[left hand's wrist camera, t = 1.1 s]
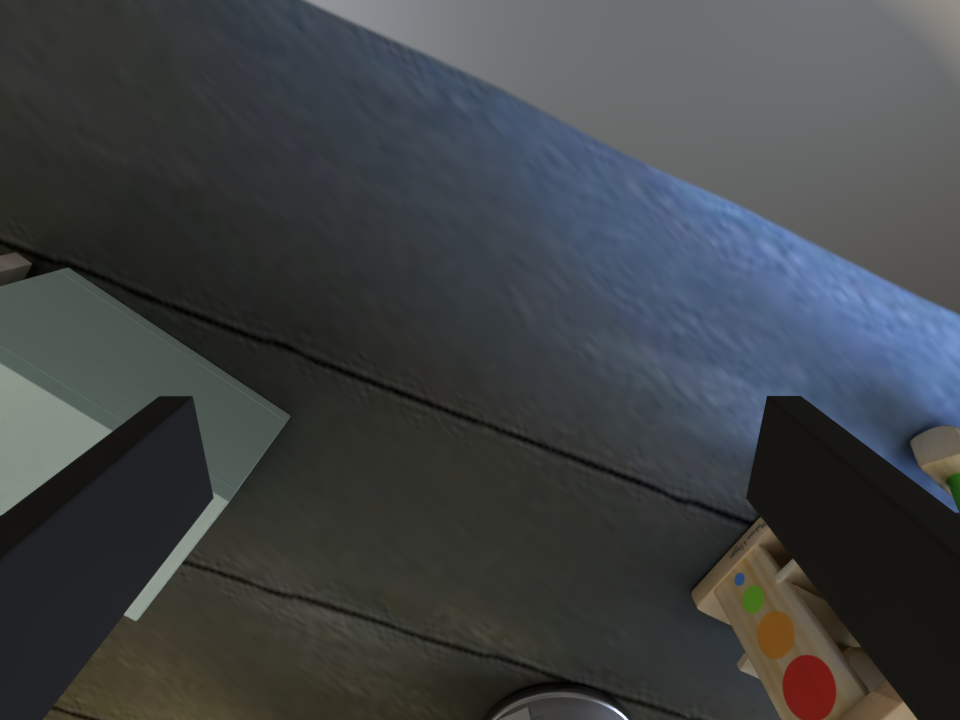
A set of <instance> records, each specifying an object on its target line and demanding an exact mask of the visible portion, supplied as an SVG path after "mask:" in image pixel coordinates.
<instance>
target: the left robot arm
mask: <svg viewBox="0 0 960 720" xmlns="http://www.w3.org/2000/svg"><path fill="white" fill-rule="evenodd" d="M213 498H214V496H213V491H212V487H211V482H210V477H209V472H208V467H207V462H206V458H205V453H204V448H203V443H202V438H201V433H200V428H199V424H198V419H197V414H196V409H195V404H194V399H193V396H159V397H157V398H156V399H155V400H153V401H152V402H151V403H149V404H148V405H147V406H146V407H144V408H143V409H142V410H140V411H139V412H138V413H136V414H135V415H134V416H132V417H131V418H130V419H128V420H127V421H126V422H124V423H123V424H122V425H120V426H119V427H118V428H116V429H115V430H114V431H112V432H111V433H110V434H108V435H107V436H106V437H104V438H103V439H102V440H101V441H99V442H98V443H97V444H95V445H94V446H93V447H91V448H90V449H89V450H87V451H86V452H85V453H83V454H82V455H81V456H79V457H78V458H77V459H75V460H74V461H73V462H71V463H70V464H69V465H67V466H66V467H65V468H63V469H62V470H61V471H60V472H58V473H57V474H56V475H54V476H53V477H52V478H50V479H49V480H48V481H46V482H45V483H44V484H42V485H41V486H40V487H38V488H37V489H36V490H34V491H33V492H32V493H30V494H29V495H28V496H26V497H25V498H24V499H22V500H21V501H20V502H18V503H17V504H16V505H15V506H13V507H12V508H11V509H9V510H8V511H7V512H5V513H4V514H3V515H0V720H43V718H44V717H45V716H46V714H47V713H48V712H49V711H50V709H51V708H52V707H53V705H54V704H55V703H56V701H57V700H58V699H59V698H60V696H61V695H62V694H63V692H64V691H65V690H66V689H67V687H68V686H69V685H70V683H71V682H72V681H73V679H74V678H75V677H76V676H77V674H78V673H79V672H80V670H81V669H82V668H83V667H84V665H85V664H86V663H87V661H88V660H89V659H90V657H91V656H92V655H93V654H94V652H95V651H96V650H97V648H98V647H99V646H100V645H101V643H102V642H103V641H104V639H105V638H106V637H107V635H108V634H109V633H110V632H111V630H112V629H113V628H114V626H115V625H116V624H117V623H118V621H119V620H120V619H121V617H122V616H123V615H124V614H125V612H126V611H127V610H128V608H129V607H130V606H131V604H132V603H133V602H134V601H135V599H136V598H137V597H138V595H139V594H140V593H141V592H142V590H143V589H144V588H145V586H146V585H147V584H148V582H149V581H150V580H151V579H152V577H153V576H154V575H155V573H156V572H157V571H158V570H159V568H160V567H161V566H162V564H163V563H164V562H165V560H166V559H167V558H168V557H169V555H170V554H171V553H172V551H173V550H174V549H175V548H176V546H177V545H178V544H179V542H180V541H181V540H182V538H183V537H184V536H185V535H186V533H187V532H188V531H189V529H190V528H191V527H192V526H193V524H194V523H195V522H196V520H197V519H198V518H199V517H200V515H201V514H202V513H203V511H204V510H205V509H206V507H207V506H208V505H209V504H210V502H211V501H212V500H213ZM746 498H747V500H748V501H749V502H750V504H751V505H752V506H753V507H754V509H755V510H756V511H757V513H758V514H759V515H760V517H761V518H762V519H763V520H764V522H765V523H766V524H767V526H768V527H769V528H770V529H771V531H772V532H773V533H774V535H775V536H776V537H777V538H778V540H779V541H780V542H781V544H782V545H783V546H784V548H785V549H786V550H787V551H788V553H789V554H790V555H791V557H792V558H793V559H794V560H795V562H796V563H797V564H798V566H799V567H800V568H801V570H802V571H803V572H804V573H805V575H806V576H807V577H808V579H809V580H810V581H811V582H812V584H813V585H814V586H815V588H816V589H817V590H818V592H819V593H820V594H821V595H822V597H823V598H824V599H825V601H826V602H827V603H828V604H829V606H830V607H831V608H832V610H833V611H834V612H835V614H836V615H837V616H838V617H839V619H840V620H841V621H842V623H843V624H844V625H845V626H846V628H847V629H848V630H849V632H850V633H851V634H852V635H853V637H854V638H855V639H856V641H857V642H858V643H859V645H860V646H861V647H862V648H863V650H864V651H865V652H866V654H867V655H868V656H869V657H870V659H871V660H872V661H873V663H874V664H875V665H876V667H877V668H878V669H879V670H880V672H881V673H882V674H883V676H884V677H885V678H886V679H887V681H888V682H889V683H890V685H891V686H892V687H893V689H894V690H895V691H896V692H897V694H898V695H899V696H900V698H901V699H902V700H903V701H904V703H905V704H906V705H907V707H908V708H909V709H910V711H911V712H912V713H913V714H914V716H915V717H916V718H917V720H960V513H955V512H953V511H952V510H951V509H949V508H948V507H947V506H945V505H944V504H943V503H942V502H940V501H939V500H938V499H936V498H935V497H934V496H932V495H931V494H930V493H928V492H927V491H926V490H924V489H923V488H922V487H920V486H919V485H918V484H916V483H915V482H914V481H912V480H911V479H910V478H908V477H907V476H906V475H904V474H903V473H902V472H900V471H899V470H898V469H897V468H895V467H894V466H893V465H891V464H890V463H889V462H887V461H886V460H885V459H883V458H882V457H881V456H879V455H878V454H877V453H875V452H874V451H873V450H871V449H870V448H869V447H867V446H866V445H865V444H863V443H862V442H861V441H859V440H858V439H857V438H856V437H854V436H853V435H852V434H850V433H849V432H848V431H846V430H845V429H844V428H842V427H841V426H840V425H838V424H837V423H836V422H834V421H833V420H832V419H830V418H829V417H828V416H826V415H825V414H824V413H822V412H821V411H820V410H818V409H817V408H816V407H814V406H813V405H812V404H811V403H809V402H808V401H807V400H805V399H804V398H803V397H801V396H767V399H766V404H765V409H764V414H763V419H762V424H761V428H760V433H759V438H758V443H757V448H756V453H755V458H754V462H753V467H752V472H751V477H750V482H749V487H748V491H747V496H746ZM484 720H632V719H631V717H630V716H629V714H628V712H627V711H626V710H625V709H624V707H623V706H622V705H620V704H619V703H618V702H617V701H616V700H614V699H613V698H611V697H610V696H608V695H606V694H604V693H602V692H600V691H597V690H595V689H591V688H588V687H584V686H579V685H571V684H550V685H542V686H537V687H532V688H529V689H525V690H522V691H520V692H517V693H515V694H513V695H511V696H509V697H507V698H506V699H504V700H503V701H501V702H500V703H498V704H497V705H496V706H495V707H494V708H493V709H492V710H491V711H490V712H489V713H488V714H487V716H486V717H485V719H484Z"/></svg>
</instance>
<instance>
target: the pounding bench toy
mask: <svg viewBox="0 0 960 720" xmlns="http://www.w3.org/2000/svg"><path fill="white" fill-rule="evenodd" d="M910 444H911V447H912V450H913V453H914V456H915V458H916V461H917V464H918V466H919V467H920V469H921V470H922V471H923V472H925V473H926V474H927V475H928V476H929V477H930V478H931V479H932V480H934V481H935V482H936V483H937V484H938V485H939V486H940V487H941V488H943V489H944V490H945V491H946V492H947V493H948V494H949V495H950V496H951V497H953V498H954V500H955V503H956V505H957V508H958V510H959V512H960V430H959V429H958V428H957V427H956V426H951V425H946V426H939V427H935V428H932V429H929V430H927V431H924V432H922V433H921V434H919V435H917V436H916V437H914V438H913V439H912V440H911V441H910ZM691 595H692V598H693V600H694V602H695V604H696V606H697V608H698V609H699V610H700V611H702V612H703V613H706V614H708V615H710V616H712V617H714V618H716V619H718V620H720V621H722V622H725V623H727V624H729V625H731V626H732V628H733V630H734V631H735V633H736V635H737V637H738V639H739V641H740V643H741V645H742V647H743V648H744V650H745V653H744V654H743V656H742V657H741V659H740V660H739V662H738V663H737V666H738V668H739V669H740V670H741V671H743V672H745V673H747V674H750V675H752V676H754V677H756V678H759V679H760V680H761V682H762V684H763V686H764V688H765V690H766V691H767V693H768V695H769V697H770V699H771V701H772V703H773V705H774V707H775V708H776V710H777V712H778V714H779V716H780V718H781V720H917V718H916V717H915V716H914V714H913V713H912V712H911V711H910V709H909V708H908V707H907V705H906V704H905V703H904V701H903V700H902V699H901V698H900V696H899V695H898V694H897V692H896V691H895V690H894V689H893V687H892V686H891V685H890V683H889V682H888V681H887V679H886V678H885V677H884V676H883V674H882V673H881V672H880V670H879V669H878V668H877V667H876V665H875V664H874V663H873V661H872V660H871V659H870V657H869V656H868V655H867V654H866V652H865V651H864V650H863V648H862V647H861V646H860V645H859V643H858V642H857V641H856V639H855V638H854V637H853V635H852V634H851V633H850V632H849V630H848V629H847V628H846V626H845V625H844V624H843V623H842V621H841V620H840V619H839V617H838V616H837V615H836V614H835V612H834V611H833V610H832V608H831V607H830V606H829V604H828V603H827V602H826V601H825V599H824V598H823V597H822V595H821V594H820V593H819V592H818V590H817V589H816V588H815V586H814V585H813V584H812V582H811V581H810V580H809V579H808V577H807V576H806V575H805V573H804V572H803V571H802V570H801V568H800V567H799V566H798V564H797V563H796V562H795V560H794V559H793V558H792V557H791V555H790V554H789V553H788V551H787V550H786V549H785V548H784V546H783V545H782V544H781V542H780V541H779V540H778V538H777V537H776V536H775V535H774V533H773V532H772V531H771V529H770V528H769V527H768V526H767V524H766V523H765V522H764V520H763V519H762V518H761V517H760V518H759V519H758V520H757V521H756V522H755V523H754V524H753V525H752V526H751V527H750V528H749V529H748V531H747V532H746V533H745V534H744V535H743V536H742V537H741V538H740V539H739V540H738V541H737V543H736V544H735V545H734V546H733V547H732V548H731V549H730V550H729V551H728V552H727V553H726V554H725V556H724V557H723V558H722V559H721V560H720V561H719V562H718V563H717V564H716V565H715V566H714V568H713V569H712V570H711V571H710V572H709V573H708V574H707V575H706V576H705V577H704V579H703V580H702V581H701V582H700V583H699V584H698V585H697V586H696V587H695V588H694V590H693V591H692V593H691Z"/></svg>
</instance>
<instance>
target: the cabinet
mask: <svg viewBox="0 0 960 720" xmlns="http://www.w3.org/2000/svg"><path fill="white" fill-rule="evenodd" d="M159 396H193V399H194V404H195V409H196V414H197V419H198V424H199V428H200V433H201V438H202V443H203V448H204V453H205V458H206V462H207V467H208V472H209V477H210V482H211V487H212V491H213V496H214V498H213V500H212V501H211V502H210V504H209V505H208V506H207V507H206V509H205V510H204V511H203V513H202V514H201V515H200V517H199V518H198V519H197V520H196V522H195V523H194V524H193V526H192V527H191V528H190V529H189V531H188V532H187V533H186V535H185V536H184V537H183V538H182V540H181V541H180V542H179V544H178V545H177V546H176V548H175V549H174V550H173V551H172V553H171V554H170V555H169V557H168V558H167V559H166V560H165V562H164V563H163V564H162V566H161V567H160V568H159V570H158V571H157V572H156V573H155V575H154V576H153V577H152V579H151V580H150V581H149V582H148V584H147V585H146V586H145V588H144V589H143V590H142V592H141V593H140V594H139V595H138V597H137V598H136V599H135V601H134V602H133V603H132V604H131V606H130V607H129V608H128V610H127V611H126V612H125V614H124V615H125V616H127V617H129V618H131V619H133V620H134V621H137V620H138V619H139V618H140V616H141V615H142V614H143V612H144V611H145V610H146V609H147V607H148V606H149V605H150V603H151V602H152V601H153V599H154V598H155V597H156V596H157V594H158V593H159V592H160V590H161V589H162V588H163V587H164V585H165V584H166V583H167V581H168V580H169V579H170V578H171V576H172V575H173V574H174V572H175V571H176V570H177V569H178V567H179V566H180V565H181V563H182V562H183V561H184V560H185V558H186V557H187V556H188V554H189V553H190V552H191V551H192V549H193V548H194V547H195V545H196V544H197V543H198V542H199V540H200V539H201V538H202V536H203V535H204V534H205V532H206V531H207V530H208V529H209V527H210V526H211V525H212V523H213V522H214V521H215V520H216V518H217V517H218V516H219V514H220V513H221V512H222V511H223V509H224V508H225V507H226V505H227V504H228V503H229V502H230V500H231V499H232V497H233V496H234V495H235V493H236V492H237V490H238V489H239V488H240V486H241V485H242V483H243V482H244V481H245V479H246V478H247V477H248V475H249V474H250V472H251V471H252V470H253V468H254V467H255V465H256V464H257V463H258V461H259V460H260V458H261V457H262V456H263V454H264V453H265V452H266V450H267V449H268V447H269V446H270V445H271V443H272V442H273V440H274V439H275V438H276V436H277V435H278V434H279V432H280V431H281V429H282V428H283V427H284V425H285V424H286V422H287V421H288V420H289V418H290V417H291V416H290V415H289V414H287V413H286V412H284V411H283V410H281V409H280V408H278V407H277V406H275V405H274V404H272V403H271V402H269V401H268V400H266V399H265V398H263V397H262V396H260V395H259V394H257V393H256V392H254V391H253V390H251V389H250V388H248V387H247V386H245V385H244V384H242V383H241V382H239V381H238V380H236V379H235V378H233V377H232V376H230V375H229V374H227V373H226V372H224V371H223V370H221V369H220V368H218V367H217V366H215V365H214V364H212V363H211V362H209V361H208V360H206V359H205V358H203V357H202V356H200V355H199V354H197V353H196V352H194V351H193V350H191V349H190V348H188V347H187V346H185V345H184V344H182V343H181V342H179V341H178V340H176V339H175V338H173V337H172V336H170V335H169V334H167V333H166V332H164V331H163V330H161V329H160V328H158V327H157V326H155V325H154V324H152V323H151V322H149V321H148V320H146V319H145V318H143V317H142V316H140V315H139V314H137V313H136V312H134V311H133V310H131V309H130V308H128V307H127V306H125V305H124V304H122V303H121V302H119V301H118V300H116V299H115V298H113V297H112V296H110V295H109V294H107V293H106V292H104V291H103V290H101V289H100V288H98V287H97V286H95V285H94V284H92V283H91V282H89V281H88V280H86V279H85V278H83V277H82V276H80V275H79V274H77V273H76V272H74V271H73V270H71V269H70V268H64V269H61V270H58V271H54V272H50V273H46V274H43V275H39V276H36V277H32V278H28V279H25V280H21V281H18V282H14V283H10V284H7V285H3V286H0V515H3V514H4V513H5V512H7V511H8V510H9V509H11V508H12V507H13V506H15V505H16V504H17V503H18V502H20V501H21V500H22V499H24V498H25V497H26V496H28V495H29V494H30V493H32V492H33V491H34V490H36V489H37V488H38V487H40V486H41V485H42V484H44V483H45V482H46V481H48V480H49V479H50V478H52V477H53V476H54V475H56V474H57V473H58V472H60V471H61V470H62V469H63V468H65V467H66V466H67V465H69V464H70V463H71V462H73V461H74V460H75V459H77V458H78V457H79V456H81V455H82V454H83V453H85V452H86V451H87V450H89V449H90V448H91V447H93V446H94V445H95V444H97V443H98V442H99V441H101V440H102V439H103V438H104V437H106V436H107V435H108V434H110V433H111V432H112V431H114V430H115V429H116V428H118V427H119V426H120V425H122V424H123V423H124V422H126V421H127V420H128V419H130V418H131V417H132V416H134V415H135V414H136V413H138V412H139V411H140V410H142V409H143V408H144V407H146V406H147V405H148V404H149V403H151V402H152V401H153V400H155V399H156V398H157V397H159Z"/></svg>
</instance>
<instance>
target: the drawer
mask: <svg viewBox="0 0 960 720" xmlns="http://www.w3.org/2000/svg"><path fill="white" fill-rule="evenodd" d="M31 265H32V263H31V262H29V261H28V260H26V259H25V258H23V257H22V256H20V255H19V254H17V253H10V254H6V255H1V256H0V286H3V285H7V284H10V283H14V282H18V281H21V280H24V279H25V277H26V275H27V273H28V271H29V269H30V267H31Z"/></svg>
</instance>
